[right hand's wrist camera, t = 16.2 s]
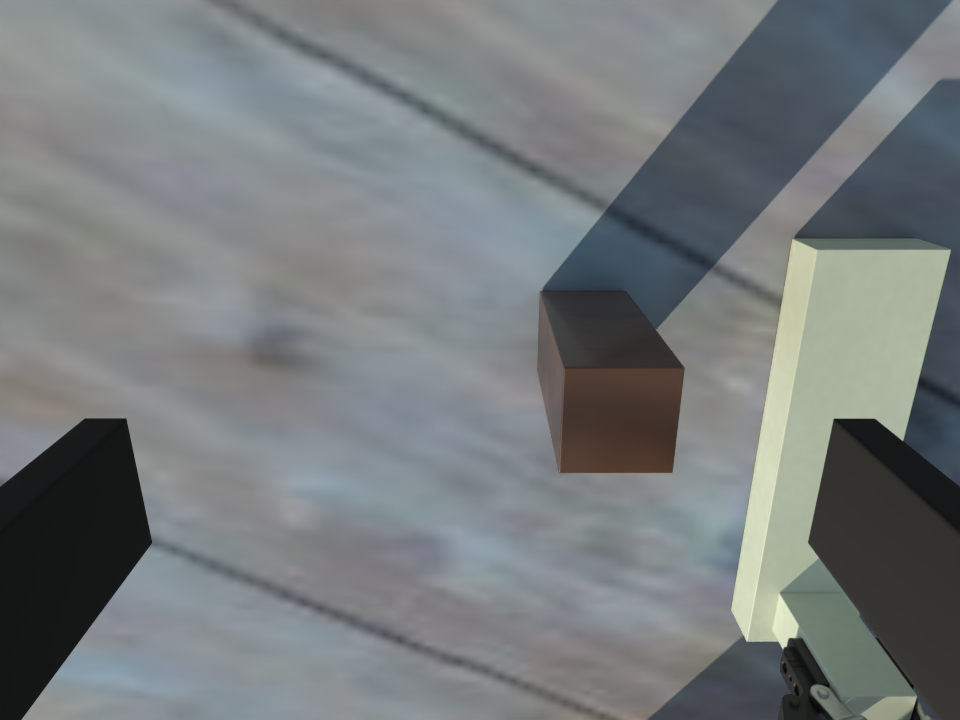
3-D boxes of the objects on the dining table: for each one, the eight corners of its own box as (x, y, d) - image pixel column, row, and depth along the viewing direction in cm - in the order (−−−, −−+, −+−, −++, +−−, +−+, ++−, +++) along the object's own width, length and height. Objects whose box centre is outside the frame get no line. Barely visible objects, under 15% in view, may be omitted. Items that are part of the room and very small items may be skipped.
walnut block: (539, 290, 39) (563, 367, 28) (626, 290, 39) (685, 367, 28) (537, 371, 41) (558, 473, 30) (620, 371, 41) (672, 473, 30)
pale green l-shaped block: (792, 238, 38) (907, 289, 28) (917, 238, 38) (1079, 289, 28) (730, 609, 47) (800, 751, 37) (831, 609, 47) (928, 751, 37)
